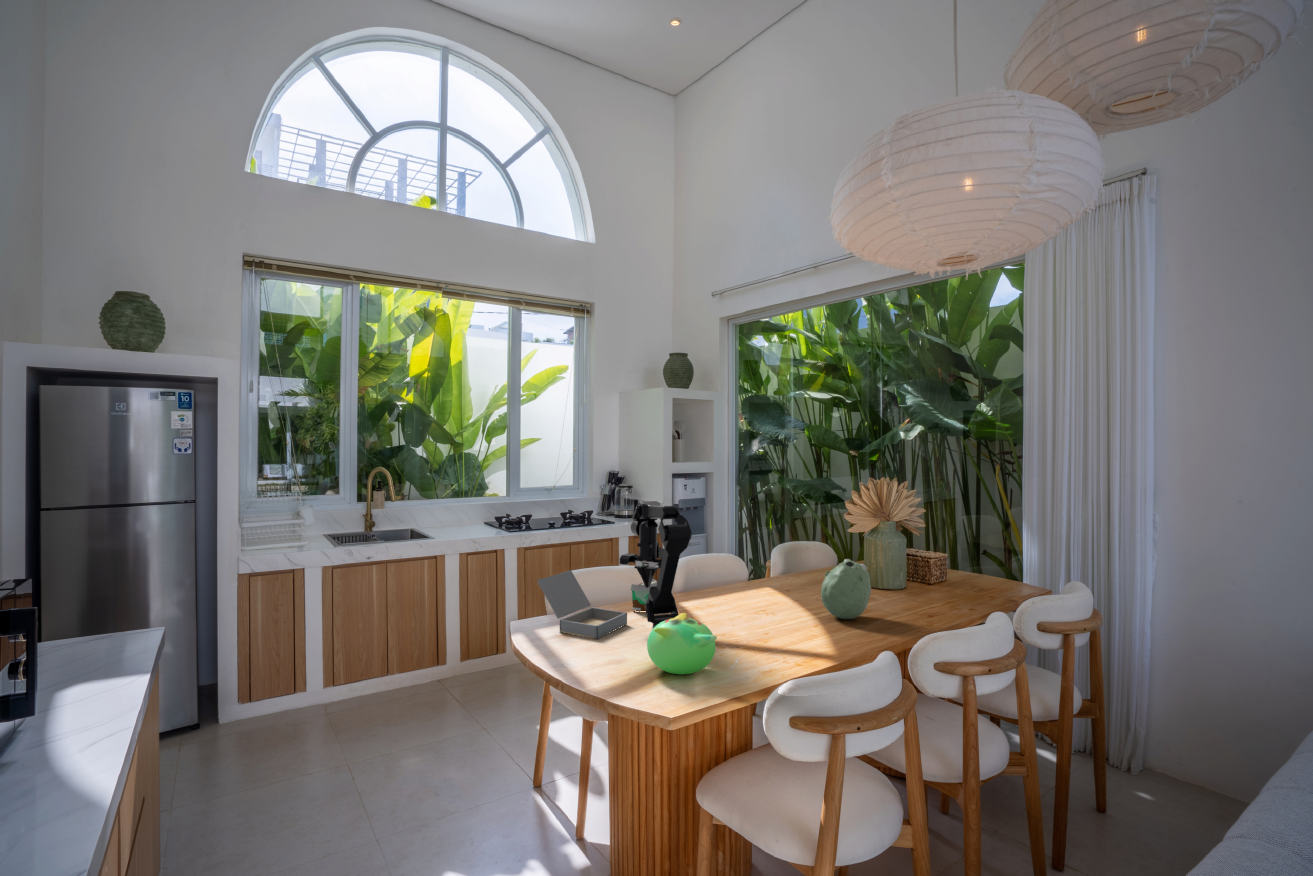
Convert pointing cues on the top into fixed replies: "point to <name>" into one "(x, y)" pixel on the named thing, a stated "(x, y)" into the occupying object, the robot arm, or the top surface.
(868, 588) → the green avocado
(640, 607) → the food container
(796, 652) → the top surface
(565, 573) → the mailer lid
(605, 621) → the box
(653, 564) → the robot arm
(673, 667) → the toy bird
